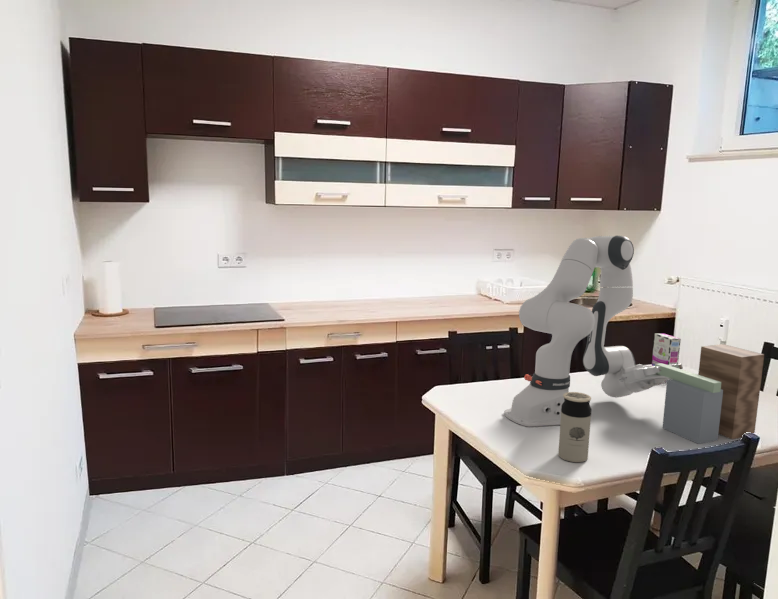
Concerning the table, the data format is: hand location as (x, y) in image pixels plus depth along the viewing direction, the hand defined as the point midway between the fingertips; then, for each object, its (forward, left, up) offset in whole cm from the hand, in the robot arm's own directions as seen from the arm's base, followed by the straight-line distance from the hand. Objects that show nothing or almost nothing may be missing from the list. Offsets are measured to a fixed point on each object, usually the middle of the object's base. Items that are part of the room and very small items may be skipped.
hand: (669, 367), depth 191 cm
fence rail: (0, -6, -3) cm, 7 cm away
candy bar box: (+47, +44, -19) cm, 67 cm away
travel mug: (-46, -10, -19) cm, 51 cm away
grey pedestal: (0, -10, -19) cm, 21 cm away
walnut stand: (+14, -10, -19) cm, 26 cm away
